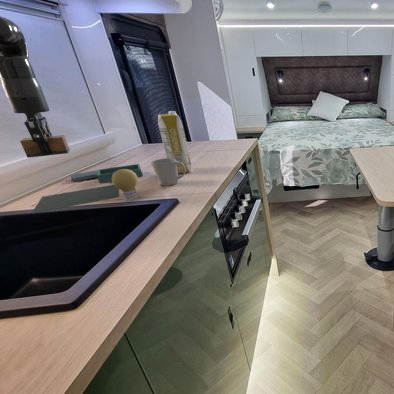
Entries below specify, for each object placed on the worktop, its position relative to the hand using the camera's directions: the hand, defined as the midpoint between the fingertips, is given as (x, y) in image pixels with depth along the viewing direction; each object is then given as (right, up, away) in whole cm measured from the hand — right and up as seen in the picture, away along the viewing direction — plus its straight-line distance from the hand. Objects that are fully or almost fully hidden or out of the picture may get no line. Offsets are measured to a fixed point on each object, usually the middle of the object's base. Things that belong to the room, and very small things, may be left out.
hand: (49, 152), depth 90 cm
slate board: (+6, -14, +4) cm, 16 cm away
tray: (+4, -6, +23) cm, 25 cm away
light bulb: (+24, -15, +3) cm, 28 cm away
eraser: (0, 0, 0) cm, 0 cm away
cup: (+28, -9, +17) cm, 34 cm away
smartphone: (-8, -5, +26) cm, 28 cm away
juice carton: (+23, -3, +31) cm, 39 cm away
